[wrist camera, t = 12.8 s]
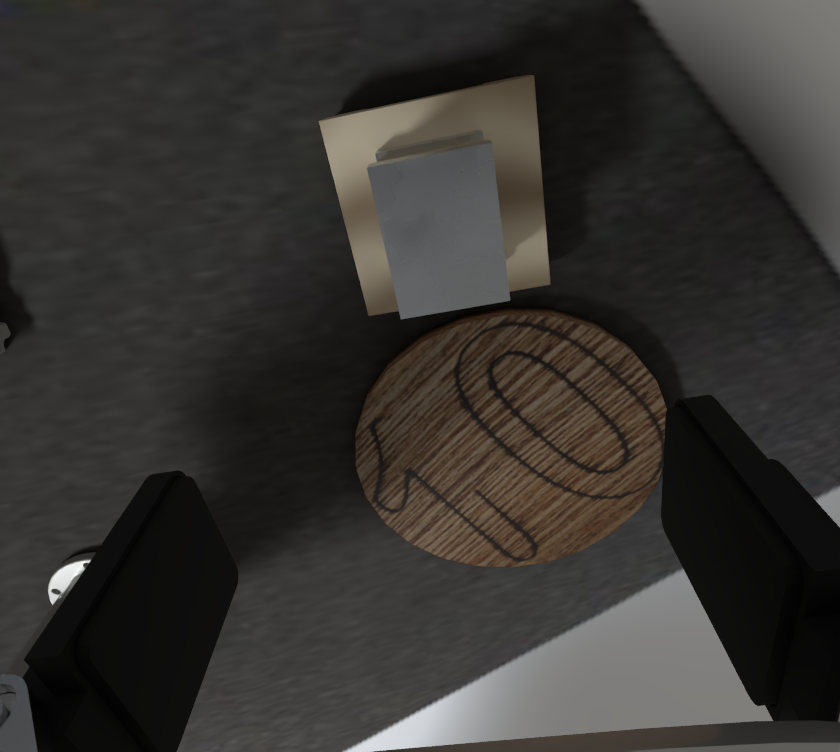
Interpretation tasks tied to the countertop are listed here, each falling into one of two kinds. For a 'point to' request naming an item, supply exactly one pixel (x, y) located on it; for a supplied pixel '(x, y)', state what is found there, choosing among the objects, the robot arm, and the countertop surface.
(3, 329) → the egg carton
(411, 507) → the trivet
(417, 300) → the block
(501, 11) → the countertop surface
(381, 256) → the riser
